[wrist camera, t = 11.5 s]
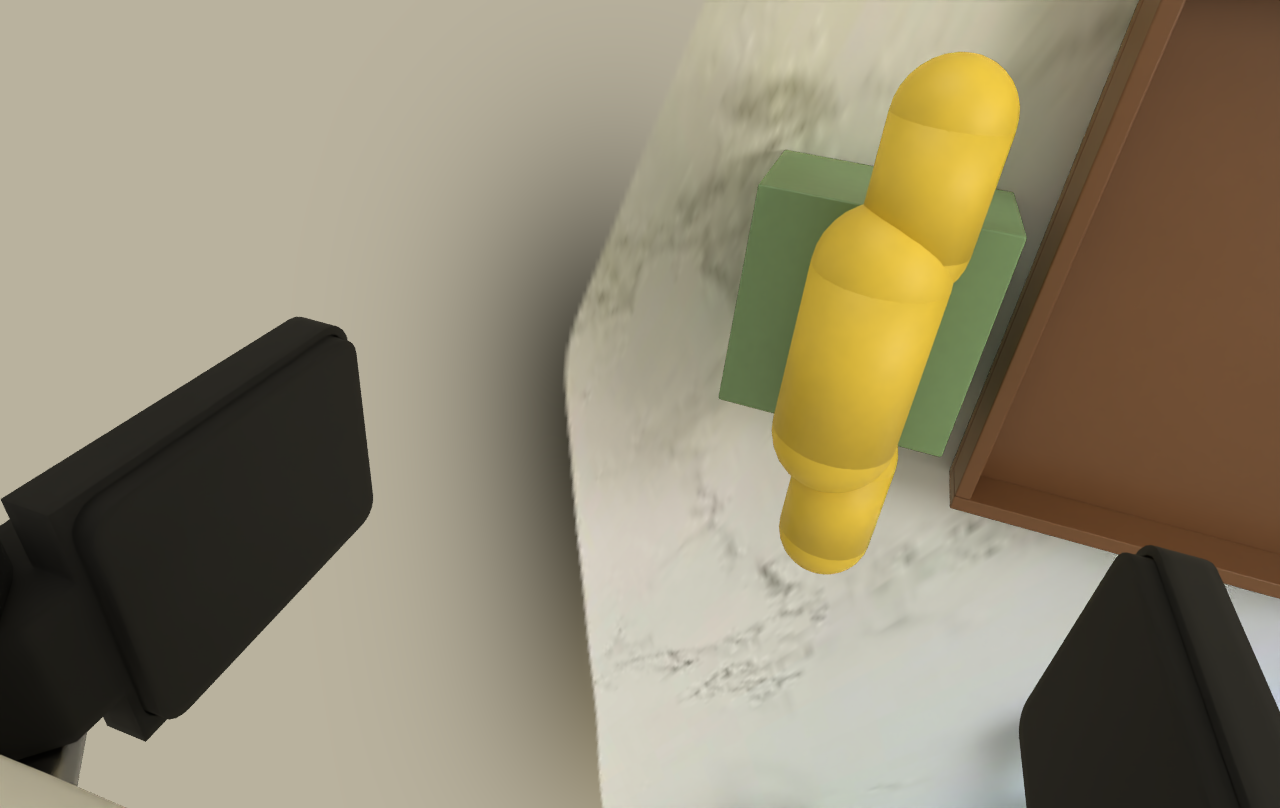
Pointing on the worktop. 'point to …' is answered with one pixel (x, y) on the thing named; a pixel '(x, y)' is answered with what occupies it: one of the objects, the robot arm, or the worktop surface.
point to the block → (777, 271)
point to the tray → (1153, 313)
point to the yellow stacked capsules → (885, 302)
